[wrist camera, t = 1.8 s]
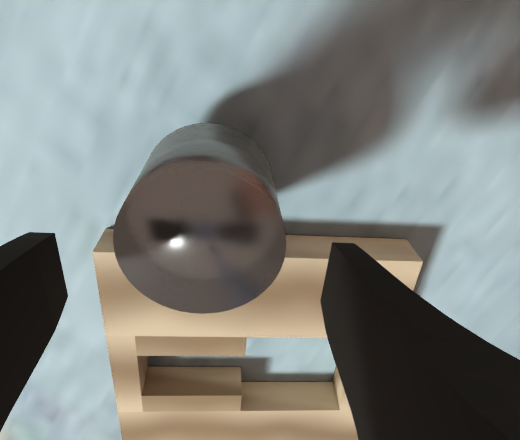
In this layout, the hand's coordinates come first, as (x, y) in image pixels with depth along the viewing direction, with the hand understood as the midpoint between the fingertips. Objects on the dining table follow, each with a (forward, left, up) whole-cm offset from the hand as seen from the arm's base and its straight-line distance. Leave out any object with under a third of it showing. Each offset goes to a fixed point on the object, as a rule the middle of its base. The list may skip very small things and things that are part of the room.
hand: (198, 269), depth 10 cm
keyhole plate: (-12, -3, -8) cm, 14 cm away
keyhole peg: (0, 0, -8) cm, 8 cm away
